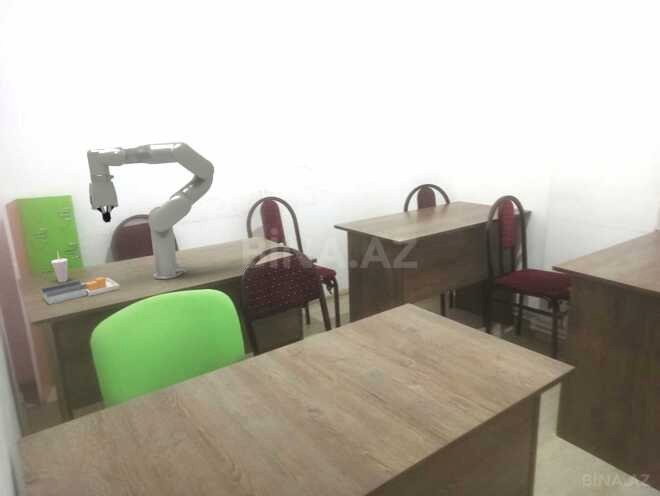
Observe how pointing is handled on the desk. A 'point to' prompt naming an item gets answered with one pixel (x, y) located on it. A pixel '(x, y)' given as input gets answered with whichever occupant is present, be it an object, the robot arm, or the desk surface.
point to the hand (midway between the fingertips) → (107, 221)
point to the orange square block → (101, 282)
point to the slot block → (64, 292)
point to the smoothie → (60, 269)
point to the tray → (109, 287)
